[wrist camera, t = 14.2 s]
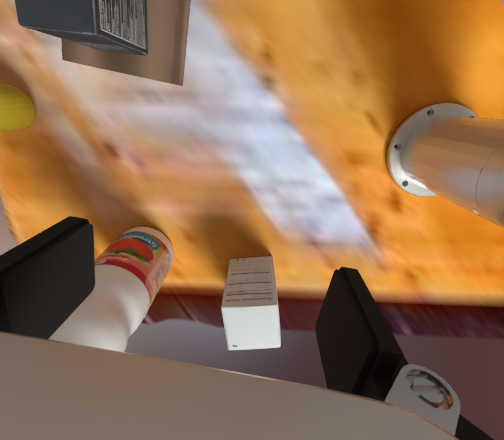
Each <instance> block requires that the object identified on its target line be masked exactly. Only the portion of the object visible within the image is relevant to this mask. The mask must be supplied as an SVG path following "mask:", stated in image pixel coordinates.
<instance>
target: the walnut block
mask: <svg viewBox="0 0 504 440" xmlns="http://www.w3.org/2000/svg"><path fill="white" fill-rule="evenodd" d="M190 2H191V0H147V36H148V54H147V55H146V56H144V55H136V54H129V53H120V52H112V51H105V50H98V49H93V48H91V47H88V46H84V45H81V44H78V43H75V42H71V41H69V40H65V39H62V38H61V39H62V58H63V60H65V61H70V62H74V63H79V64H83V65H88V66H92V67H97V68H101V69H106V70H111V71H115V72H120V73H125V74H129V75H134V76H139V77H143V78H148V79H153V80H157V81H162V82H167V83H171V84H176V85H181V86H183V77H184V66H185V55H186V45H187V34H188V23H189V13H190Z"/></svg>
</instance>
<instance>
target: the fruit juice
mask: <svg viewBox="0 0 504 440" xmlns="http://www.w3.org/2000/svg"><path fill="white" fill-rule="evenodd" d="M173 259H174V251H173V247H172V244H171V243H170V241H169V239H168V238H167V237H166V236H165V235H164V234H163V233H161V232H160V231H158V230H156V229H153V228H150V227H135V228H131V229H129V230H127V231H126V232H124V233H123V234H122V235H120V236H119V237H118V238H117V239H116V240H115V241H114V242H113V243H112V244H111V245H110V246H109V247H108V248H107V249H106V250H105V251H104V252H103V253H102V254H101V255H100V256H99V257H98V258H97V259H95V260H94V262H95V287H94V289H93V291H92V293H91V294H90V295H89V296H88V297H87V298H86V299H85V300H84V301H83V302H82V303H81V304H80V306H79V307H78V308H77V309H76V310H75V311H74V312H73V313H72V314H71V315H70V316H69V317H68V318H67V320H66V321H65V322H64V323H63V324H62V325H61V326H60V327H59V328H58V329H57V330H56V331H55V332H54V334H53V335H52V336H51V337H50V338H49V340H55V341H61V342H67V343H73V344H79V345H85V346H91V347H97V348H103V349H108V350H114V351H120V352H124V351H125V349H126V345H127V341H128V336H130V335H131V334H132V333H133V332H134V331H135V330H136V329H137V328H138V326H139V325H140V323H141V322H142V320H143V319H144V317H145V315H146V314H147V312H148V309H149V307H150V306H151V304H152V302H153V300H154V298H155V296H156V294H157V292H158V291H159V289H160V287H161V285H162V283H163V281H164V279H165V277H166V276H167V274H168V272H169V270H170V268H171V266H172V263H173Z"/></svg>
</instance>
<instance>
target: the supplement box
mask: <svg viewBox="0 0 504 440" xmlns="http://www.w3.org/2000/svg"><path fill="white" fill-rule="evenodd" d="M221 309H222V315H223V321H224V327H225V333H226V339H227V344H228V350H244V349H260V348H277V347H280V346H281V338H280V320H279V309H278V300H277V291H276V282H275V273H274V265H273V257H272V256H264V257H250V258H236V259H230V262H229V268H228V273H227V279H226V284H225V289H224V295H223V300H222V307H221Z"/></svg>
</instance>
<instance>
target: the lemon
mask: <svg viewBox="0 0 504 440" xmlns="http://www.w3.org/2000/svg"><path fill="white" fill-rule="evenodd" d="M35 116H36V109H35V106H34V103H33V102H32V100H31V99H30V97H29V96H28V95H27V94H25V93H24V92H23V91H22V90H20V89H18V88H16V87H14V86H11V85H7V84H3V83H0V131H18V130H22V129H24V128H26V127H28V126H29V125H30V124H32V123H33V121H34V119H35Z"/></svg>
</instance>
